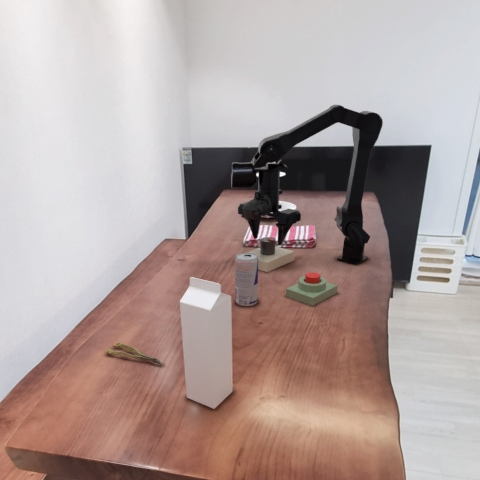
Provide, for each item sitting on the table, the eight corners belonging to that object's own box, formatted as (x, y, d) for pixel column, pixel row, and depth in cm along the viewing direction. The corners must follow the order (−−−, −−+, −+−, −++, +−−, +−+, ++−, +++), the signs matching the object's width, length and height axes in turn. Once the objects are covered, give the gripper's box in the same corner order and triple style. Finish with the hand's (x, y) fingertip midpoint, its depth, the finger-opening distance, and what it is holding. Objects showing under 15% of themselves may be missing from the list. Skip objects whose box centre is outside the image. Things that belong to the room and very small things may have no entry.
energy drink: (259, 298, 116) (260, 253, 111) (254, 308, 112) (255, 261, 106) (238, 296, 118) (238, 251, 112) (233, 305, 114) (232, 259, 108)
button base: (310, 284, 122) (311, 270, 120) (336, 293, 117) (338, 278, 115) (285, 296, 117) (286, 281, 115) (312, 306, 111) (313, 290, 109)
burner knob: (257, 252, 137) (257, 238, 135) (266, 249, 139) (267, 235, 137) (268, 256, 134) (268, 241, 132) (278, 252, 136) (278, 238, 134)
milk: (205, 381, 86) (200, 270, 76) (233, 392, 83) (231, 277, 73) (185, 398, 82) (177, 282, 72) (214, 410, 79) (209, 290, 69)
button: (310, 277, 117) (311, 271, 116) (322, 281, 115) (323, 274, 114) (301, 281, 115) (302, 275, 114) (314, 285, 113) (314, 279, 112)
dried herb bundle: (157, 368, 91) (156, 360, 90) (104, 357, 97) (102, 349, 96) (168, 358, 94) (167, 349, 93) (116, 348, 100) (114, 339, 99)
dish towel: (316, 248, 146) (316, 237, 145) (242, 247, 151) (242, 236, 150) (315, 232, 161) (315, 222, 160) (247, 231, 166) (247, 221, 164)
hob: (267, 253, 145) (268, 243, 143) (293, 260, 138) (294, 250, 136) (241, 263, 138) (241, 253, 137) (266, 272, 131) (267, 261, 130)
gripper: (223, 188, 130) (225, 241, 137) (276, 197, 117) (274, 256, 124) (251, 181, 136) (250, 233, 143) (303, 189, 123) (300, 245, 130)
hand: (267, 241), depth 135 cm, fingers open, 9 cm apart
